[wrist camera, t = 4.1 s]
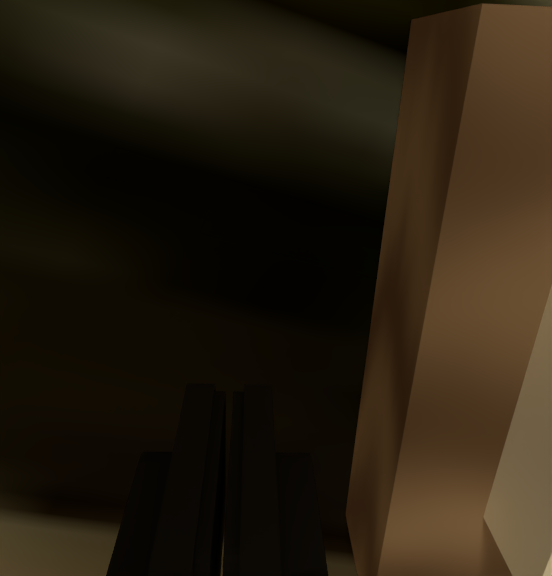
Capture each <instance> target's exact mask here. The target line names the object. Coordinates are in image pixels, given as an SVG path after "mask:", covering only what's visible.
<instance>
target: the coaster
mask: <svg viewBox="0 0 552 576" xmlns="http://www.w3.org/2000/svg"><path fill="white" fill-rule="evenodd" d="M483 517H484V519H485V521H486V523H487V525H488V528H489V530H490V532H491V534H492V536H493V538H494V540H495V542H496V544H497V546H498V548H499V550H500V552H501V554H502V556H503V558H504V560H505V562H506V564H507V566H508V568H509V570H510V572H511V574H512V576H552V286H551V289H550V293H549V296H548V299H547V303H546V306H545V310H544V313H543V316H542V320H541V323H540V327H539V330H538V333H537V337H536V340H535V343H534V347H533V350H532V354H531V357H530V360H529V364H528V367H527V371H526V374H525V377H524V381H523V384H522V388H521V391H520V394H519V398H518V401H517V404H516V408H515V411H514V415H513V418H512V421H511V425H510V428H509V432H508V435H507V438H506V442H505V445H504V449H503V452H502V455H501V459H500V462H499V465H498V469H497V472H496V476H495V479H494V482H493V486H492V489H491V493H490V496H489V499H488V503H487V506H486V510H485V513H484V516H483Z"/></svg>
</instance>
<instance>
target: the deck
mask: <svg viewBox="0 0 552 576" xmlns="http://www.w3.org/2000/svg"><path fill="white" fill-rule="evenodd" d="M551 286H552V7H544V6H523V5H503V4H478V5H474V6H469V7H465V8H461V9H456V10H452V11H447V12H443V13H439V14H434V15H430V16H425V17H421V18H417V19H412V20H411V27H410V35H409V42H408V50H407V57H406V65H405V72H404V80H403V87H402V95H401V102H400V110H399V117H398V125H397V132H396V140H395V147H394V154H393V162H392V169H391V177H390V184H389V192H388V199H387V207H386V214H385V222H384V229H383V237H382V244H381V252H380V259H379V267H378V274H377V282H376V289H375V297H374V304H373V311H372V319H371V326H370V334H369V341H368V349H367V356H366V364H365V371H364V379H363V386H362V394H361V401H360V409H359V416H358V424H357V431H356V439H355V446H354V454H353V461H352V469H351V476H350V483H349V491H348V498H347V506H346V513H345V515H346V520H347V525H348V530H349V535H350V540H351V545H352V550H353V555H354V560H355V565H356V570H357V575H358V576H512V574H511V572H510V570H509V568H508V566H507V564H506V562H505V560H504V558H503V556H502V554H501V552H500V550H499V548H498V546H497V544H496V542H495V540H494V538H493V536H492V534H491V532H490V530H489V528H488V525H487V523H486V521H485V519H484V517H483V516H484V513H485V510H486V506H487V503H488V499H489V496H490V493H491V489H492V486H493V482H494V479H495V476H496V472H497V469H498V465H499V462H500V459H501V455H502V452H503V449H504V445H505V442H506V438H507V435H508V432H509V428H510V425H511V421H512V418H513V415H514V411H515V408H516V404H517V401H518V398H519V394H520V391H521V388H522V384H523V381H524V377H525V374H526V371H527V367H528V364H529V360H530V357H531V354H532V350H533V347H534V343H535V340H536V337H537V333H538V330H539V327H540V323H541V320H542V316H543V313H544V310H545V306H546V303H547V299H548V296H549V293H550V289H551Z"/></svg>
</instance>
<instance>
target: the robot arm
mask: <svg viewBox="0 0 552 576" xmlns="http://www.w3.org/2000/svg"><path fill="white" fill-rule="evenodd" d="M224 513H225V392H215V384H187V387H186V391H185V396H184V401H183V406H182V410H181V415H180V420H179V425H178V430H177V435H176V439H175V444H174V449H173V452H143V453H142V455H141V457H140V460H139V463H138V466H137V470H136V473H135V477H134V480H133V484H132V487H131V491H130V494H129V498H128V501H127V505H126V508H125V512H124V515H123V519H122V522H121V526H120V529H119V533H118V536H117V540H116V543H115V547H114V550H113V554H112V557H111V561H110V564H109V568H108V571H107V575H106V576H220V573H221V558H222V543H223V528H224ZM223 576H328V571H327V564H326V557H325V549H324V542H323V535H322V528H321V521H320V514H319V507H318V500H317V493H316V486H315V479H314V472H313V464H312V459H311V455H310V453H275V441H274V421H273V401H272V385H245V392H234V396H233V412H232V428H231V444H230V460H229V476H228V492H227V508H226V524H225V540H224V557H223Z"/></svg>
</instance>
